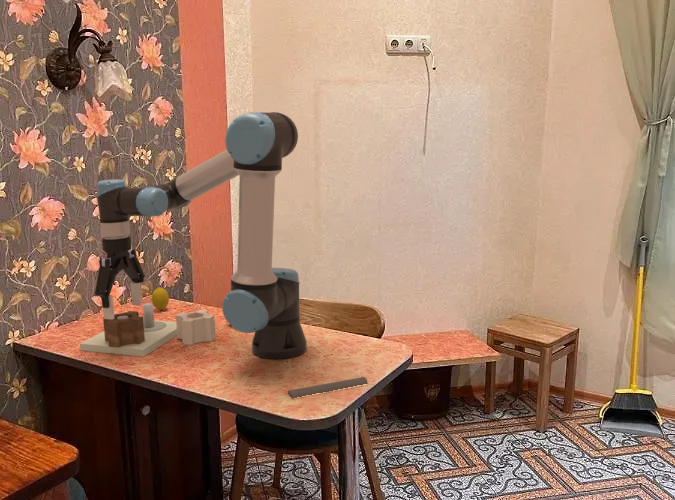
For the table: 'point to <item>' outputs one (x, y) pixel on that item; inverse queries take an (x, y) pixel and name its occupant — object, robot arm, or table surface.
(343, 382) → the gray half cylinder
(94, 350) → the board
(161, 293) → the lemon
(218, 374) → the table surface
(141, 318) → the walnut gear
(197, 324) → the cream gear
